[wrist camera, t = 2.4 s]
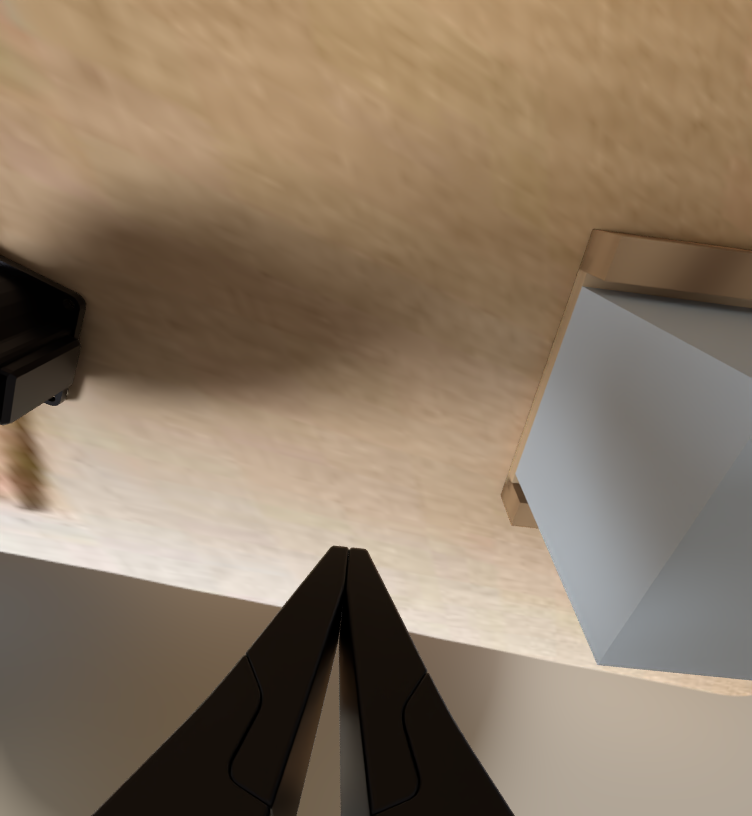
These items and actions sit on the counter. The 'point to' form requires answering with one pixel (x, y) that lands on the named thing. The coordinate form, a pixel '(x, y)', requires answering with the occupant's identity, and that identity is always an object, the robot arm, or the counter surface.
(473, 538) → the counter surface
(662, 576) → the block
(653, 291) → the chute
